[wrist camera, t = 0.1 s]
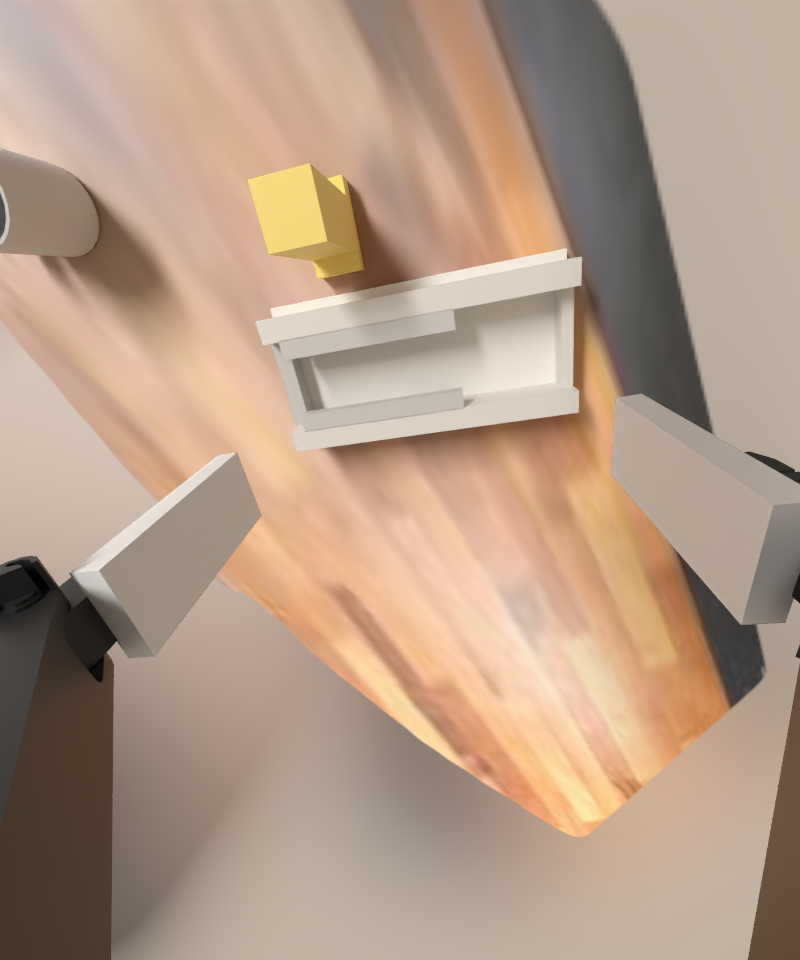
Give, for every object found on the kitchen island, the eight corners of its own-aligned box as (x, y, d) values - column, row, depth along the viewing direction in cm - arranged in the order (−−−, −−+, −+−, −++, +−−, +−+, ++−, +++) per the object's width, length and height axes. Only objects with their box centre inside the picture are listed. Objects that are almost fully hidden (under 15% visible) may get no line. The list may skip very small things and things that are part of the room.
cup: (118, 240, 37) (30, 230, 29) (39, 279, 39) (-62, 279, 31) (67, 149, 34) (-46, 109, 26) (-15, 196, 36) (-142, 173, 28)
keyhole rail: (273, 308, 38) (252, 311, 34) (563, 249, 34) (582, 244, 30) (313, 440, 44) (299, 458, 40) (563, 405, 40) (578, 420, 36)
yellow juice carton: (302, 191, 34) (239, 150, 23) (347, 180, 33) (303, 133, 23) (323, 278, 37) (275, 278, 26) (364, 269, 36) (333, 266, 26)
